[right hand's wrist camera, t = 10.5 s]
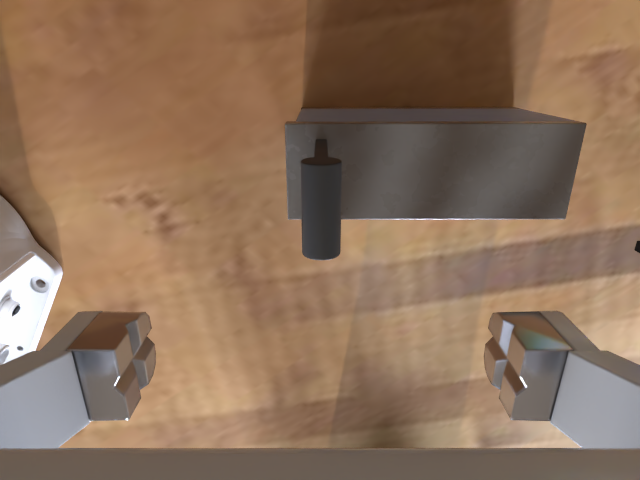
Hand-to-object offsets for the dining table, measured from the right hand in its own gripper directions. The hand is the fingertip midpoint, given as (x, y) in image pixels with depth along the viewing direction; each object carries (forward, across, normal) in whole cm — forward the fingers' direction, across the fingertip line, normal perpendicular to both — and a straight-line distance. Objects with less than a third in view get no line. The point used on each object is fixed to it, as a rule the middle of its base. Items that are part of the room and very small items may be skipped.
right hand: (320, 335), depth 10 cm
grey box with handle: (+18, -7, 0) cm, 19 cm away
